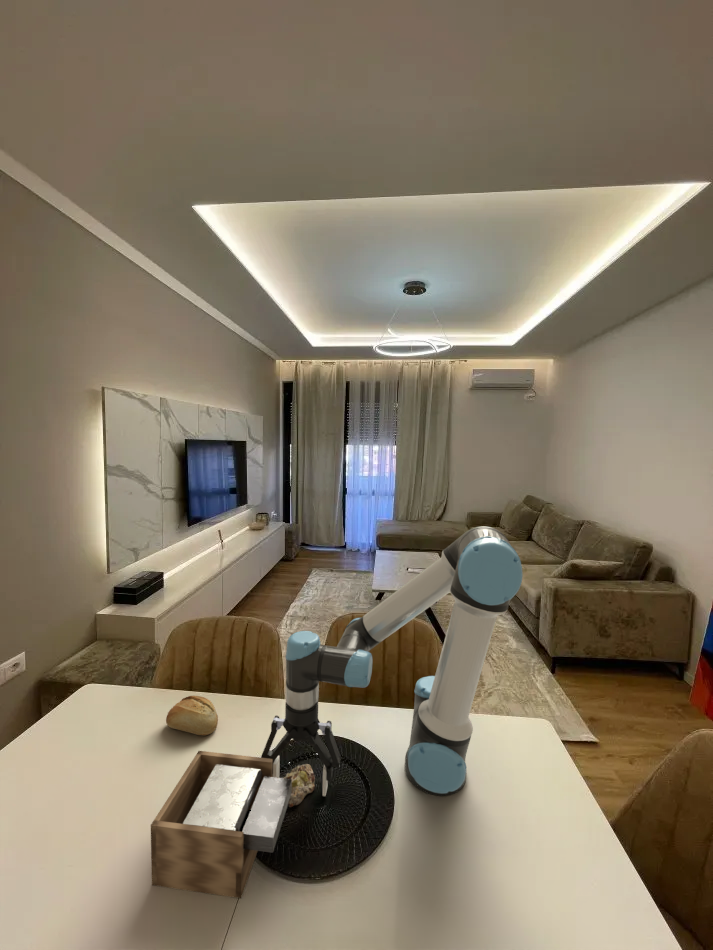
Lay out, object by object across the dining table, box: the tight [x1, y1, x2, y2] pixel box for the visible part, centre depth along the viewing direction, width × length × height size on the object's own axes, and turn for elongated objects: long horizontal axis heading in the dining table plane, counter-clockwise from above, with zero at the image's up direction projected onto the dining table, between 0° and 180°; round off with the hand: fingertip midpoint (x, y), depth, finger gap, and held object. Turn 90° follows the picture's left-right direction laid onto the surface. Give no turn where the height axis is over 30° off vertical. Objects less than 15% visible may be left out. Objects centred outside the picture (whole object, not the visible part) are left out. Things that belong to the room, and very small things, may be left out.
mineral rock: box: [283, 763, 316, 808], centre depth 98 cm, size 11×4×8 cm
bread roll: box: [165, 695, 219, 737], centre depth 117 cm, size 10×15×8 cm, turn 80°
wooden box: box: [150, 750, 273, 899], centre depth 84 cm, size 17×18×12 cm
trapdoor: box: [183, 764, 292, 853], centre depth 83 cm, size 17×14×4 cm
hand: (300, 788), depth 98 cm, fingers open, 11 cm apart
